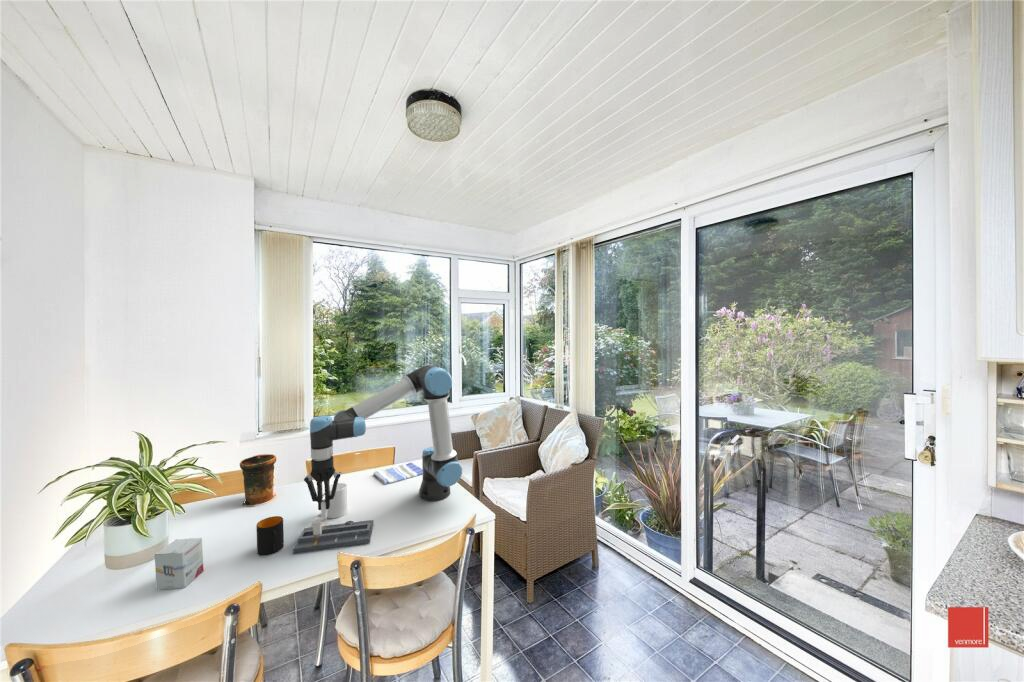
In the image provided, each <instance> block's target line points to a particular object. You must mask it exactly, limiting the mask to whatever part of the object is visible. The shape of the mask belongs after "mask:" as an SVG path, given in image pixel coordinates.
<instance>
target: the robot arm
mask: <svg viewBox="0 0 1024 682" xmlns="http://www.w3.org/2000/svg"><path fill="white" fill-rule="evenodd" d="M452 386H453V378H452V376H451V373H449V371H447V370H446V369H444V368H442V367H439V366H435V365H434V366H433V365H431V364H429V365H422V366H420V367H419V368H418V367H417V369H415V370H413V371H411V372H408V373H407V374H405V375H404V377H403V379H401V380H399V381H397V382H395V383H394V384H392V385H390V386H388V387H386V388H384V389H382V390H381V391H379V392H377V393H375V394H373V395H371V396H370V397H368V398H366V399H364V400H362V401H360V402H359V403H357V404H355V405H353V406H351V407H349V408H347V409H344V410H339V411H337V412H336V413H335V415H334V416H333V417H332V416H329V415H319V416H316V417H313V418H312V419H311V420H310V424H309V425H310V426H309V428H310V429H309V437H310V438H309V439H310V459H311V461H310V463H311V465H310V466H311V471H310V472H309V474H308V475H306V476H305V477H304V478H303V480H304V482H305V483H306V485H307V488H308V491H309V494H310V497H311V499H312V502H317V508H318V511H321V512H320V514H321V515H320V517H321V518H322V519H323V520H326V519H327V518H328V517H327V509H329V507H330V500H331V499H333V498H334V496H335V493H336V488H337V484H338V483H339V479H340V478H341V476H342V472H341V471H340V472H339V471H336V468H335V466H334V465H335V464H334V463H335V462H334V456H333V455H334V445H333V444H334V443H333V442H334V441H338V440H344V439H350V438H351V439H352V438H357V437H361V436H365V434H366V430H367V426H366V420H367V419H368V418H369V417H372V416H374V415H375V414H377V413H379V412H381V411H382V410H384V409H386V408H388V407H389V406H392V405H393V404H395V403H396V402H398V401H400V400H402V399H404V398H405V397H407V396H409V395H411V394H417V393H418V392H421V391H422V395H423V399H424V401H426V402H427V405H428V406H427V407H428V413H429V415H428V416H429V422H430V423H429V424H430V431H431V439H432V446H429V447H426V448H424V449H423V450H422V456H421V458H422V460H421V461H422V462H421V463H422V465H421V467H422V468H421V469H422V470H423V474H422V480H421V484H420V487H419V490H418V495H419V496H418V497H419V498H420V499H422V500H423V501H426V502H429V501H430V502H435V501H441V500H443V499H447V498H448V497H449V496H450V495H451V487H452V486H454V485H456V484H457V483H458V482H459V481H460V479H461V477H462V475H463V467H462V465H461V463H460V462H459V461H458V454H457V451H456V450H455V449H454V447H453V438H452V430H451V429H452V428H451V422H450V415H449V406H448V405H449V404H448V403H449V402H448V399H449V397H450V396H451V393H450V391H451V388H452ZM332 477H333V478H334V481H333V484H332V485H333V488H332V492H331V495H330V480H331V478H332ZM313 480H314V481H315V482H316V487H315V485H314V482H313ZM323 484H324V485H323ZM323 486H324V493H325V495H324V496H323V494H324V493H323Z"/></svg>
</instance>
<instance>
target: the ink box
mask: <svg viewBox="0 0 1024 682" xmlns="http://www.w3.org/2000/svg"><path fill="white" fill-rule="evenodd" d="M203 556H204V555H203V539H202V537H198V538H197V537H189V538H181V539H179V538H177V539H174V540H173V541H172V542H170V543H169V544H168V545H166V546H165V547H163V548H162V549H160V550H159V551H157V552H156V553H155V554H154V567H155V584H156V587H155V588H156V590H157V591H161V590H174V589H175V590H176V589H185V588H187V587H188V585H190V584H191V583H192V582H193V581H194V580H196V578H197V577H198V576H199V575H200V574H201V573H203V572H204V557H203Z"/></svg>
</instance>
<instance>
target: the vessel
mask: <svg viewBox="0 0 1024 682" xmlns="http://www.w3.org/2000/svg"><path fill="white" fill-rule="evenodd" d="M276 462H277V456H276V455H275V454H271V453H270V454H269V453H267V454H266V453H263V454H257V455H253V456H251V457H250V456H249V457H248V458H247V457H246V458H243V459H242V460H241V461H240V462H239V467H240V469H241V470H242V475H243V487H244V488H243V489H244V498H245V499H244V501H245V500H246V501H245V503H244V501H242V504H241V506H243V507H246V508H247V507H248V508H251V507H257V506H260V505H264V504H265V505H266V504H267V503H271V501H273V500H274V499H275V498H276V496H277V494H276V493H274V486H275V483H274V479H275V476H274V470H275V468H276V467H275V463H276ZM273 494H275V495H273Z"/></svg>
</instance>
